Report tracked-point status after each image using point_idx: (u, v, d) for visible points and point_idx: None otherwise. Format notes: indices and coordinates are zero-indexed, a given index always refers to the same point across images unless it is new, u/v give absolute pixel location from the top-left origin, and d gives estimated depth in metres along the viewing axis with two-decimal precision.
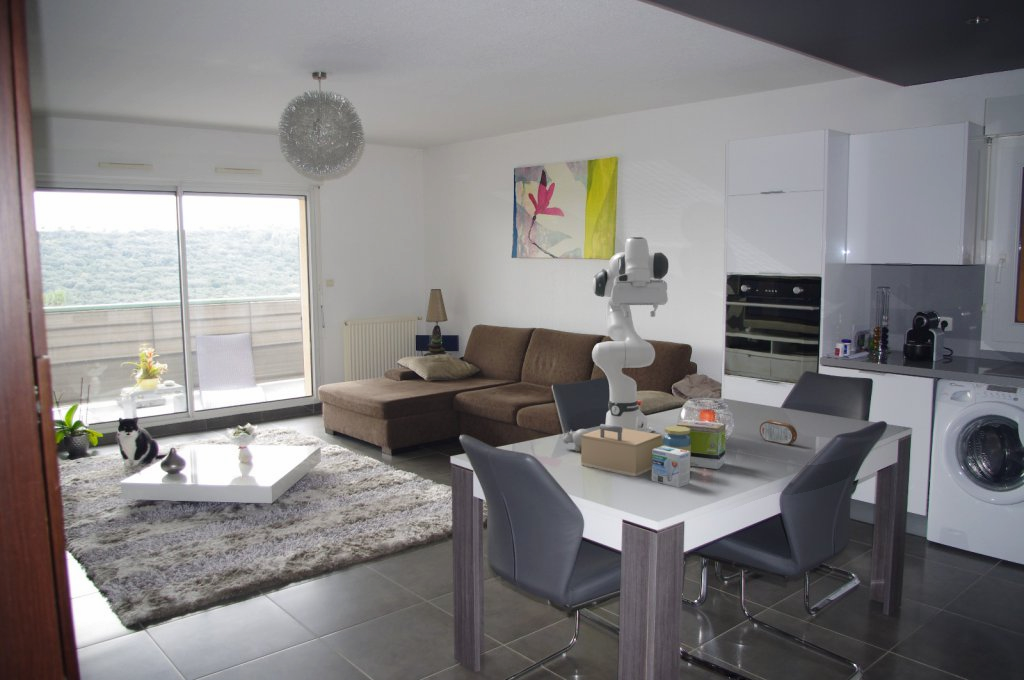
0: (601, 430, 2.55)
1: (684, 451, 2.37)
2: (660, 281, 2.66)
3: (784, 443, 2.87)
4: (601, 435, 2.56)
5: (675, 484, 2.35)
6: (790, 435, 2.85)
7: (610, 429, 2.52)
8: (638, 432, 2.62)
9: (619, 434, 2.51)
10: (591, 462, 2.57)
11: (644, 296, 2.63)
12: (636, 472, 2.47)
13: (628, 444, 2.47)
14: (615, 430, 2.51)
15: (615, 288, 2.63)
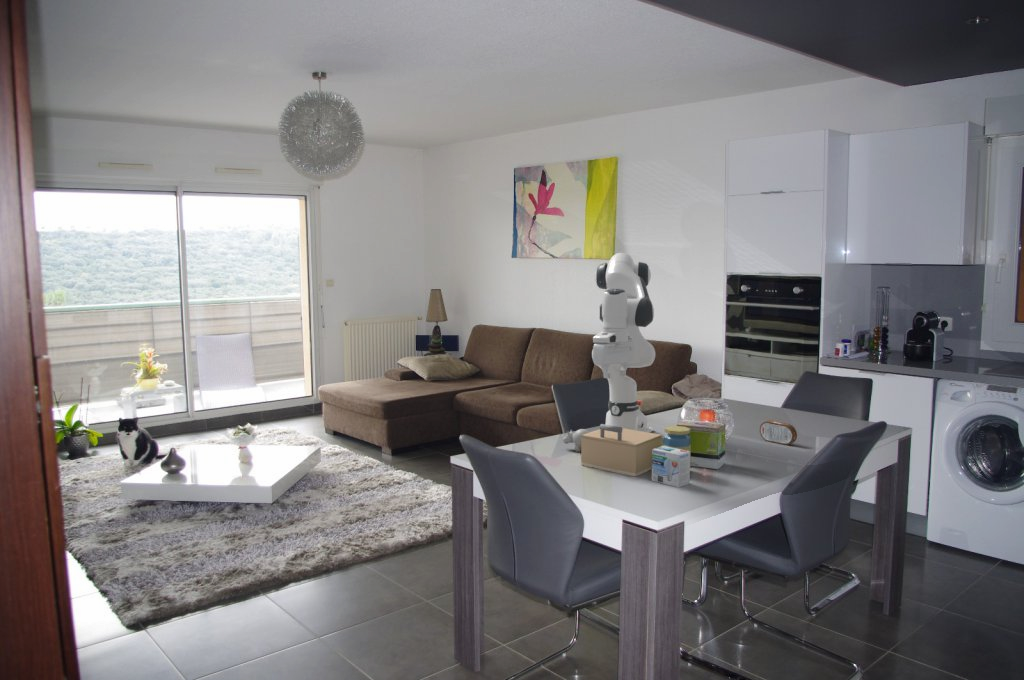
0: (601, 430, 2.55)
1: (684, 451, 2.37)
2: (629, 338, 2.57)
3: (784, 443, 2.87)
4: (601, 435, 2.56)
5: (675, 484, 2.35)
6: (790, 435, 2.85)
7: (610, 429, 2.52)
8: (638, 432, 2.62)
9: (619, 434, 2.51)
10: (591, 462, 2.57)
11: (621, 356, 2.51)
12: (636, 472, 2.47)
13: (628, 444, 2.47)
14: (615, 430, 2.51)
15: (605, 349, 2.43)
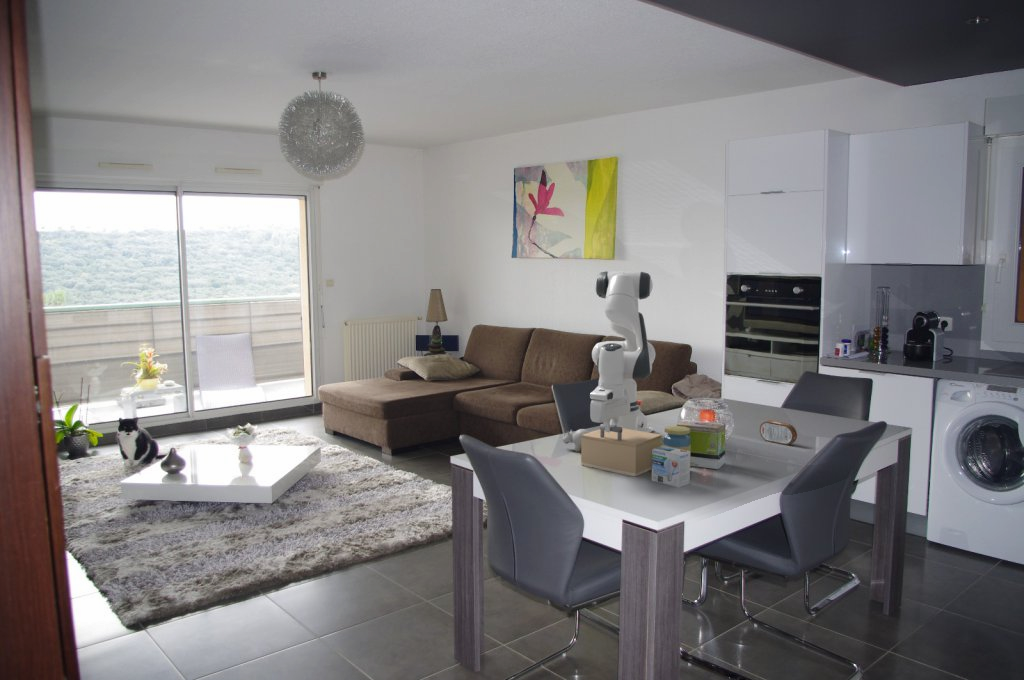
0: (601, 430, 2.55)
1: (684, 451, 2.37)
2: (624, 390, 2.58)
3: (784, 443, 2.87)
4: (601, 435, 2.56)
5: (675, 484, 2.35)
6: (790, 435, 2.85)
7: None
8: (638, 432, 2.62)
9: (619, 434, 2.51)
10: (591, 462, 2.57)
11: (618, 411, 2.53)
12: (636, 472, 2.47)
13: (628, 444, 2.47)
14: (615, 430, 2.51)
15: (603, 407, 2.44)
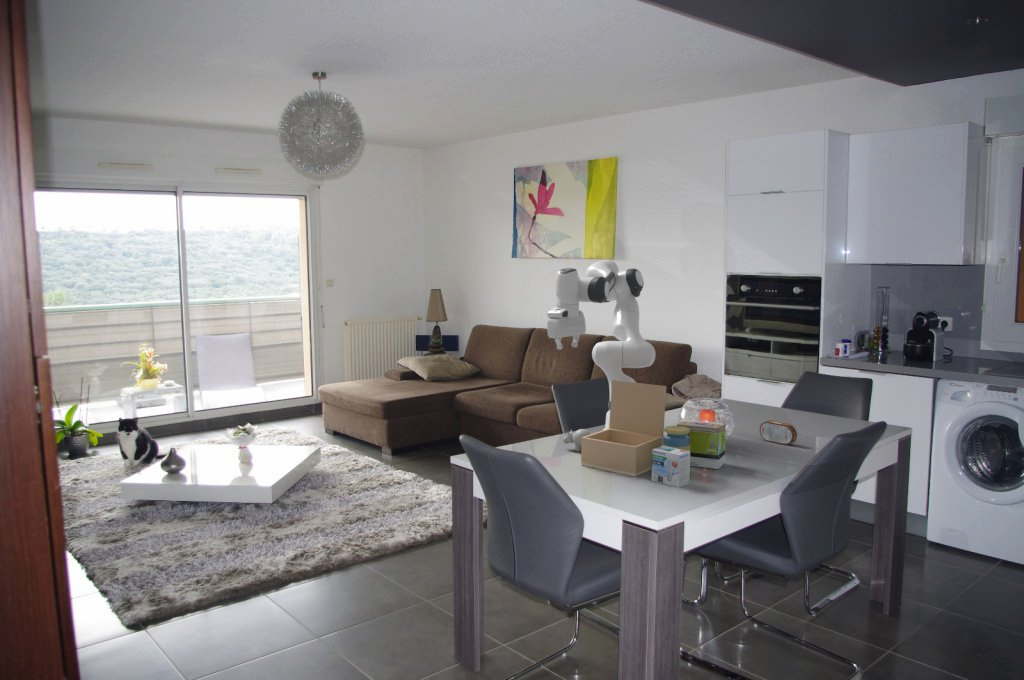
0: None
1: (684, 451, 2.37)
2: (580, 312, 2.83)
3: (784, 443, 2.87)
4: None
5: (675, 484, 2.35)
6: (790, 435, 2.85)
7: None
8: None
9: None
10: (591, 462, 2.57)
11: (573, 329, 2.78)
12: (636, 472, 2.47)
13: (658, 385, 2.61)
14: None
15: (558, 323, 2.69)
